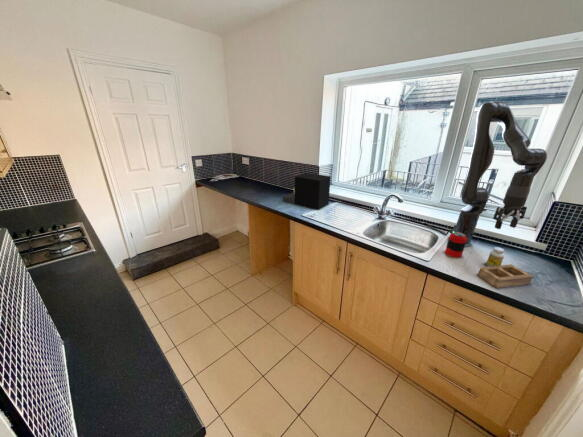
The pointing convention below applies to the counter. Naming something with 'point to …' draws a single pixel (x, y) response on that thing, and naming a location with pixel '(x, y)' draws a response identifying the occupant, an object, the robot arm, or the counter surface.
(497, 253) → the supplement bottle
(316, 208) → the black squarish block
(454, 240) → the soda can
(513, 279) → the holder
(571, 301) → the counter surface
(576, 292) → the counter surface
